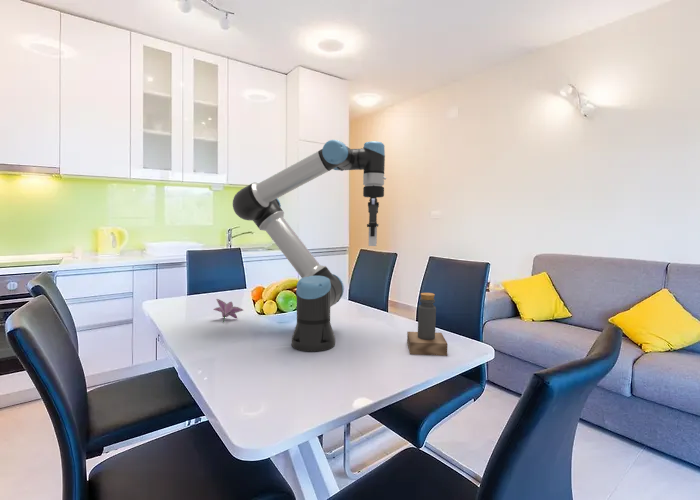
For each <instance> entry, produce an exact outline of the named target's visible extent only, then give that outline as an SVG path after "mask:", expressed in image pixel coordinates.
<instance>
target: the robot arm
mask: <svg viewBox="0 0 700 500" xmlns="http://www.w3.org/2000/svg"><path fill="white" fill-rule="evenodd" d="M385 153H386V152H385V144H384V143H383V142H381V141H377V140H373V141H366V142H364V143H363V148H362V147H361V148H350V147H349V146H347V145H346V144H345V143H344V142H342V141H341V140H338V139H330V140H327V141H326V142H325V143H324V145H323V147H322V149H319V150H318V151H316V152H314V153H312V154H310V155H308V156H307V157H305V158H303V159H301V160H298V161H297V162H296V163H295V162H294V164H291V165H290V166H288V167H286V168H284V169H283V170H281V171H279V172H277V173H275V174H273V175H271V176H270V177H268V178H266V179H263V180H262V181H261V182H259V183H258V182H252V183H251V184H249V185H246V186H245V187H243V188H241V189H240V190H238V191H237V192H236V194H234V197H233V199H232V209H233V211H234V213H235V214H236V215H237V216H238V217H239V218H240V219H242V220H245V221H252V222H253V223H254V224H255V225H256V227H257V228H258V229H259V230H260V231H264V232H266V233H267V235H268V236H269V237H270V239H271V240H272V241H273V242H274V243H275V245H276V246H277V248H278V249H279V250H280V251H281V253H282V254H283V255H284V256H285V258H286V259H287V260H288V262H289V263H290V265H292V267H293V268H294V269H295V271H296V272H297V274H298V275H299V276H300V279H299V280H298V281H297V283H296V290H295V291H296V292H295V293H296V324H295V327H294V331H293V334H292V337H291V347H292V348H294V349H295V350H298V351H303V352H322V351H323V352H324V351H327V350H330V349H332V348H334V346H335V345H336V336H335V333H334V331H333V327H332V324H331V307H333V306H334V305H336V304H337V303H338V302H340V300H341V298H342V297H343V295H344V291H345V290H344V289H345V286H344V283H343V281H342V279H341V278H340V277H339V276H338V275H336V274H333V273H332V272H331V271H330V269H329V268H328V267H327V266H326V265H321V264H320V263H319V262H318V261H317V259H316V257H315V256H314V255H313V254H312V253H311V252H310V250H309V249H308V248H307V247H306V244H304V242H303V241H302V240H301V238H299V236H298V235H297V234H296V232H295V231H294V229H292V228H293V227H291V226H290V224H289V223H288V222H287V221H286V219H285V217H284V216H285V212H284V210H283V209H282V208H281V202H280V200H279V198H281V197H283V196H284V195H286V194H288V193H290V192H292V191H294V190H296V189H298V188H299V187H301V186H303V185H305V184H307V183H309V182H311V181H313V180H314V179H316V178H318V177H320V176H322V175H324V174H326V173H328V172H330V171H332V170H334V171H341V172H343V171H354V170H355V171H362V170H363V173H362V174H363V177H362V178H363V180H362V182H363V184H362V185H364V186H363V188H362V189H363V191H362V194H363V195H362V196H363V197H364V198H369V201H368V202H367V207H368V208H367V209H368V210H367V211H368V213H369V214H368V220H369V221H368V223H367V224H366V228H368V247H377V244H378V243H377V242H378V238H377V235H378V234H377V233H378V228H379V223H378V221H377V220H378V219H377V214H379V207H380V202H378V199H377V198H383V197H384V196H385V187H384V185H385V180H386V179H387V177H386V176H385V161H386V159H385V158H386V154H385Z"/></svg>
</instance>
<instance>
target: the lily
mask: <svg viewBox="0 0 700 500" xmlns="http://www.w3.org/2000/svg"><path fill="white" fill-rule="evenodd" d="M215 300H216V302H217V304H218V307H214V308H213V311H216V312H219V313H221V317H222V318H223V317H224V318H223V322H224V323H225V317H226V318H228V317H232V318H234V319H236V318H237V319H238V316H237V313H239V312H240V313H241V312H244V309H243V308H241V307H239V306H234V304H233V302H232V301H229V302H225V301H224V300H221V299H220V298H219V299H218V298H216V299H215Z"/></svg>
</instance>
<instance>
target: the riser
mask: <svg viewBox="0 0 700 500" xmlns="http://www.w3.org/2000/svg"><path fill="white" fill-rule="evenodd" d="M406 332H407V334H406V335H407V336H406V337H407V338H406V343H407V346H408V352H409V355H420V356H448V342H447V340H446V339H445V336H444V335H443V333H442V332H435V338H434V339H432V340H425V339H420V338H418V331H406Z"/></svg>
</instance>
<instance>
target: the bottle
mask: <svg viewBox="0 0 700 500" xmlns="http://www.w3.org/2000/svg"><path fill="white" fill-rule="evenodd" d="M435 295H436V294H435V293H433V292H421V293H420V298H419V302H420V303H421V304H419V305H418V310H417V311H418V312H417V313H418V314H417V317H418V318H417V332H418V338H420V339H425V340H432V339H434V338H435V333H436V323H437V322H436V318H437V314H436V313H437V306H436V305H434V304H435V303H436V299H435Z"/></svg>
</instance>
